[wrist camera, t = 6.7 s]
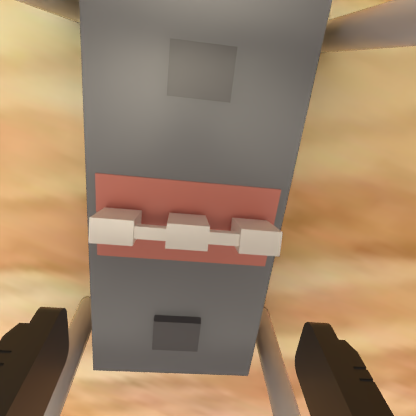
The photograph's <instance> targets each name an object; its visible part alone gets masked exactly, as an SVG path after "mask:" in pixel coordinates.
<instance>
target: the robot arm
mask: <svg viewBox="0 0 416 416" xmlns="http://www.w3.org/2000/svg"><path fill="white" fill-rule="evenodd" d="M68 352H69V333H68V321H67V311H66V309H65V308H51V307H40V308H39V309H38V310H37V312H36V313H35V315H34V317H33V318H32V320H31V321H30V323H19V324H18V325H16V326H15V327H14V328H13V329H11V330H10V331H9V332H7V333H6V334H5V335H4V336H3V337H2V339H1V340H0V416H44V413H45V411H46V409H47V406H48V404H49V402H50V399H51V397H52V394H53V392H54V390H55V387H56V385H57V383H58V380H59V378H60V375H61V373H62V371H63V368H64V366H65V363H66V360H67V357H68ZM295 369H296V374H297V377H298V380H299V383H300V386H301V389H302V392H303V395H304V398H305V401H306V404H307V407H308V410H309V412H310V415H311V416H394V415H393V413H392V412H391V410H390V408H389V406H388V405H387V403H386V401H385V399H384V398H383V396H382V394H381V392H380V391H379V389H378V387H377V385H376V384H375V382H373V378H372V377H371V375H370V373H369V371H368V370H366V366H365V364H364V363H363V361H362V359H361V357H360V356H359V354H358V352H357V351H356V350H354V349H353V348H352V347H351V346H350V345H349V344H348V343H347V342H346V341H345V340H338V338H337V336H336V334H335V332H334V330H333V328H332V327H331V325H330V324H328V323H313V322H306V323H305V325H304V327H303V331H302V334H301V337H300V341H299V344H298V348H297V351H296V355H295Z"/></svg>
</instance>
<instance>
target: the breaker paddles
mask: <svg viewBox="0 0 416 416" xmlns="http://www.w3.org/2000/svg"><path fill="white" fill-rule="evenodd" d="M141 218H142V210H132V209H119V208H107V207H104V208H103V209H101V210H100V211H98V212H97V213H95V214H94V215H92V216H91V217H89V237H88V243H94V244H108V245H123V246H133V244H134V243H135V241H136V239H143V240H157V241H166V242H165V249H180V250H194V251H208V244H212V245H226V246H235V248H236V250H237V251H238V253H239V254H251V255H265V256H280V249H281V242H282V234H283V232H282V231H280V230H279V229H278V228H276V227H275V226H274V225H272V224H271V223H270V222H268V221H267V220H257V219H245V218H232V223H231V231H225V230H212V229H210V226H209V223H208V220H207V218H206V215H195V214H182V213H170V212H169V217H168V221H167V226H159V225H146V224H141Z"/></svg>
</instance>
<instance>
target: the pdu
mask: <svg viewBox="0 0 416 416" xmlns="http://www.w3.org/2000/svg"><path fill="white" fill-rule="evenodd" d="M16 1H19V2H22V3H25V4H28V5H30V6H33V7H36V8H39V9H42V10H44V11H47V12H50V13H53V14H56V15H59V16H61V17H64V18H67V19H70V20H73V21H75V22H79V23H80V33H81V59H82V85H83V111H84V137H85V164H86V190H87V216H88V237H89V217H91V216H92V215H94V214H95V213H97V212H98V211H100V210H101V209H103V208H104V207H107V208H119V209H132V210H142V218H141V224H146V225H159V226H167V221H168V217H169V212H170V213H182V214H195V215H206V218H207V220H208V223H209V226H210V229H212V230H225V231H231V223H232V218H245V219H257V220H267V221H268V222H270V223H271V224H272V225H274V226H275V227H276V228H278V229H279V230H280V231H281V226H282V222H283V217H284V213H285V208H286V204H287V200H288V195H289V191H290V186H291V182H292V177H293V173H294V168H295V164H296V159H297V155H298V150H299V146H300V141H301V137H302V132H303V128H304V123H305V119H306V115H307V110H308V106H309V101H310V97H311V92H312V88H313V83H314V79H315V74H316V70H317V65H318V61H319V56H320V53H324V52H338V51H351V50H365V49H378V48H392V47H405V46H416V0H392V1H389V2H386V3H383V4H379V5H376V6H373V7H370V8H366V9H363V10H360V11H357V12H353V13H350V14H347V15H343V16H340V17H337V18H334V19H330V20H328V16H329V12H330V7H331V3H332V0H16ZM165 242H166V241H157V240H143V239H136V241H135V243H134V244H133V246H123V245H108V244H94V243H89V268H90V294H91V297H85V298H83V299H82V300H81V302H80V304H79V306H78V308H77V310H76V313H75V315H74V317H73V319H72V321H71V323H70V326H69V328H68V333H69V352H68V357H67V360H66V363H65V366H64V368H63V371H62V373H61V375H60V378H59V380H58V383H57V385H56V387H55V390H54V392H53V394H52V397H51V399H50V402H49V404H48V406H47V409H46V411H45V413H44V416H60V414H61V412H62V409H63V406H64V404H65V401H66V398H67V395H68V393H69V390H70V387H71V385H72V382H73V379H74V376H75V374H76V371H77V368H78V366H79V363H80V360H81V357H82V355H83V352H84V349H85V347H86V344H87V341H88V338H89V336H90V333H91V330H92V346H93V370H103V371H130V372H158V373H185V374H213V375H240V376H248V374H249V369H250V365H251V360H252V356H253V352H254V347H255V343H256V345H257V349H258V353H259V357H260V362H261V366H262V370H263V374H264V379H265V383H266V387H267V391H268V396H269V400H270V404H271V408H272V413H273V416H301V415H300V412H299V409H298V405H297V402H296V399H295V396H294V393H293V389H292V386H291V383H290V380H289V377H288V373H287V370H286V367H285V364H284V361H283V357H282V354H281V351H280V348H279V345H278V341H277V338H276V335H275V332H274V329H273V326H272V322H271V319H270V316H269V313H268V310H267V309H266V308H265V307H264V302H265V298H266V293H267V289H268V284H269V280H270V276H271V271H272V267H273V262H274V258H275V256H265V255H251V254H239V253H238V251H237V250H236V248H235V246H226V245H212V244H208V251H194V250H180V249H165Z"/></svg>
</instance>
